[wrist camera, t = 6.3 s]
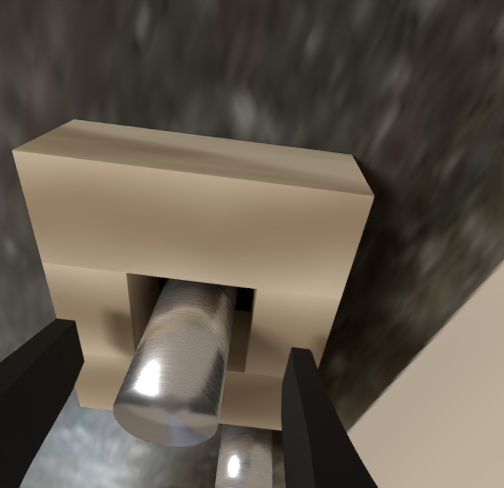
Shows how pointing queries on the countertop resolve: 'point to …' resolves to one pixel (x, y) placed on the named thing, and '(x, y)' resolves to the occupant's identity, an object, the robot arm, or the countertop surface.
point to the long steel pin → (179, 366)
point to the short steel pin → (244, 457)
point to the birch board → (192, 245)
